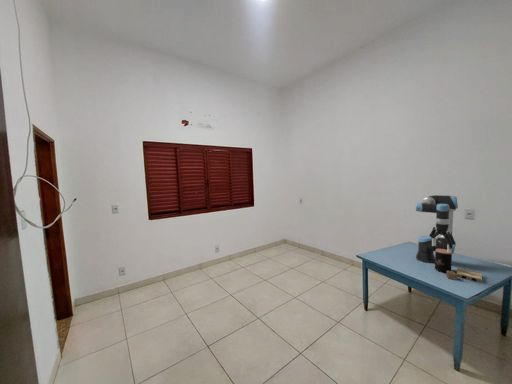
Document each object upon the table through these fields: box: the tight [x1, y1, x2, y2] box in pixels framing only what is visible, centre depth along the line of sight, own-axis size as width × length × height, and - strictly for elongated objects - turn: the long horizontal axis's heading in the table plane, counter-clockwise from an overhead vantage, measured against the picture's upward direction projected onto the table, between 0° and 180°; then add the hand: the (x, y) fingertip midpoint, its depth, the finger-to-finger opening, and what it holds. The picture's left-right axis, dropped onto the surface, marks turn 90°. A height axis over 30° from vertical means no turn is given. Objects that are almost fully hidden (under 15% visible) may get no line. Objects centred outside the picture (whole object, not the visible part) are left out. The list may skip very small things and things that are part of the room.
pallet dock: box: [456, 267, 483, 284], centre depth 170 cm, size 14×14×3 cm
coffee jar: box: [434, 249, 453, 274], centre depth 181 cm, size 11×11×18 cm
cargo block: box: [445, 270, 458, 281], centre depth 169 cm, size 5×5×5 cm
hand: (441, 248), depth 168 cm, fingers open, 13 cm apart
